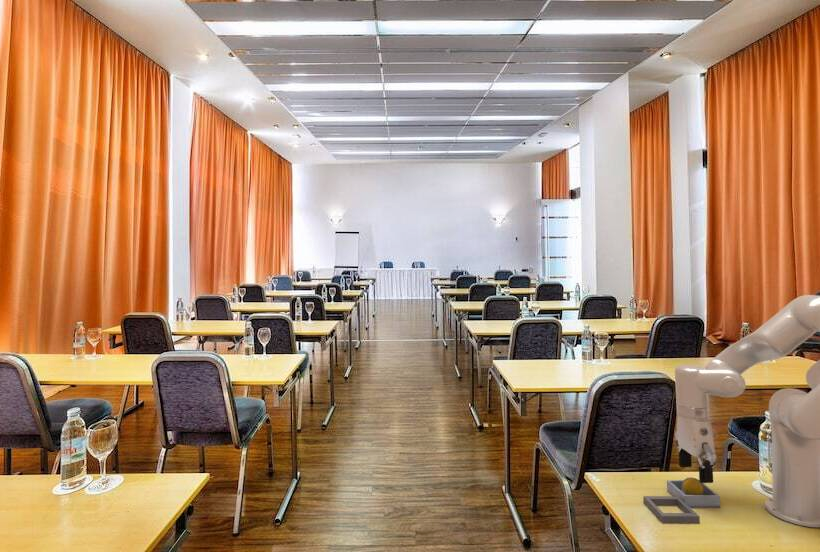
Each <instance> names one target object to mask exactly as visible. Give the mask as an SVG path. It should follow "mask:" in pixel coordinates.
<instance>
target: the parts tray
mask: <svg viewBox="0 0 820 552" xmlns="http://www.w3.org/2000/svg"><path fill="white" fill-rule="evenodd" d="M684 480H685V479H681V480H680V479H668V480H666V492H668V494H669V495H670V496H678V497H679V498H680V499H681V500H682V501H683V502H685V503H686V504H687V505H688V506H689V507H690V508H691V509H694V508H695V509H702V508H703V509H721V496H720V495H719V494H718V493H716V492H715V491H714V490H713V489H712V488H710V487H709V486H708V485H706V483H702V484H703V485H704V488H705V494H704V495H685V494H684V492H683V490H682V482H683V481H684Z"/></svg>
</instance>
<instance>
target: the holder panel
mask: <svg viewBox="0 0 820 552" xmlns="http://www.w3.org/2000/svg"><path fill="white" fill-rule="evenodd" d="M643 504H644V505H645V506H646V507H647V508H648V509H649V510H650V512H652V514H653V515H654V516H655V517H656V519H658V521H660V522H661V524H689V525H690V524H695V525H697V524H699V525H701V521H700V518H701V517H700V515H699V514H698V513H697V512H696V511H694V510H693V508H690V507H689V506H688V505H687V504H686V503H685V502H683V501H682V500H681V499H680V498H679V497H678V496H672V495H670V496H669V495H662V496H661V495H643ZM658 506H659V507H661V506H662V507H663V506H664V507H667V506H670V507H672V506H673V507H678V508H679V509H680V510H681V511H682V512H663V511H662V510H661V509H660V508H659V507H658Z"/></svg>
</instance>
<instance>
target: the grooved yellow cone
mask: <svg viewBox="0 0 820 552" xmlns="http://www.w3.org/2000/svg"><path fill="white" fill-rule="evenodd" d="M683 480H684V481H683V482H682V490H683V492H684V494H685V495H704V494H705V488H704V485H703V484H702V483H701V482H700V481H699V479H697V478H696V477H695V478H694V477H686V478H685V479H683Z"/></svg>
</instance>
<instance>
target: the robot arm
mask: <svg viewBox="0 0 820 552" xmlns="http://www.w3.org/2000/svg"><path fill="white" fill-rule="evenodd" d="M817 332H819V333H820V295H815V294H804V295H801V296H800V295H799V296H797V297H796V298H794V299H793V300H791V301H790V302H789V303H788V304H786V305H785V306H784V307H783V308H781V309H780V310H779V311H778V312H777V313H776V314H774V315H773V316H772V317H770V318H769V319H768V320H767V321H765V322H764V323H763V324H762V325H760V327H759V328H757V329H755V330H754V331H753V332H751V333H749V334H748V335H745V336H744V337H743V338H741V339H739V340H738V341H736V342H734V343H732V344H730V345H728V346H727V347H726V348H725V349H724V350H722V351H721V352H719V353H718V354H717V355H716V356H714V357H713V358H712V359H711V360H709V362H708V363H707V364H706V365H705V367H704V366H700V365H696V364H681V365H680V364H679V365H678V366H676V368H675V369H674V379H675V383H674V384H675V399H676V401H675V403H676V404H675V405H676V416H677V420H676V421H677V422H676V432H674V436H675V440H676V442H675V443H676V445H677V451H678V466H679V467H680V468H690V467H692V466H693V464H692V456H693V457H694V458H695V459H697V461H698V463H699V465H700V466H699V467H698V475H699V479H698V480H699V481H700V482H701V483H704V484H712V483H714V468H715V465H716V460H717V455H716V452H715V451H716V450H715V442H714V441H715V440H714V433H713V427H712V424H711V420H710V407H709V406H710V403H709V395H711V396H712V395H713V396H717V397H722V398H735V397H738V396H740V395H742V394H743V393H744V391H745V390H746V385H747V384H746V380H745V378H744V377H743V376H742V374H743V373H745V372H746V371H748V370H749V369H750V368H752V367H754V366H756V365H758V364H760V363H763V362H766V361H767V362H768V361H773V360H778V359H782V358H785V357H787V355H789V354H790V353H792V352H793V351H794V350H795V349H797V348H798V347H799V346H800V345H802V344H803V343H804V342H806V341H807V340H809V338H811V337H812V336H813V335H814V334H816V333H817ZM805 380H806V381H805V382H806V383H807V385H808V387H810V389H811V390H810V391H809V392H805V391H803V390H801V389H797V388H791V387H787V388H782V389H779V390H777V391H776V392H774V393H773V394H772V396H771V397H770V399H769V403H768V414H769V420H770V429H771V466H772V467H771V469H772V470H771V477H772V479H771V482H772V485H771V486H772V492H771V493H772V497H770V498H767V499H766V500H765V502H764V507H765V510H767V511H768V512H769V513H770V514H772V515H773V516H774V517H776V518H778V519H780V520H782V521H786V522H788V523H791V524H794V525H797V526H798V525H799V526H802V527H808V528H820V359H818V360H817V361H815V363H813V364H812V365H811V366H810V367H809V369H808V370H807V371H806V373H805ZM703 459H705V460H703Z"/></svg>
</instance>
